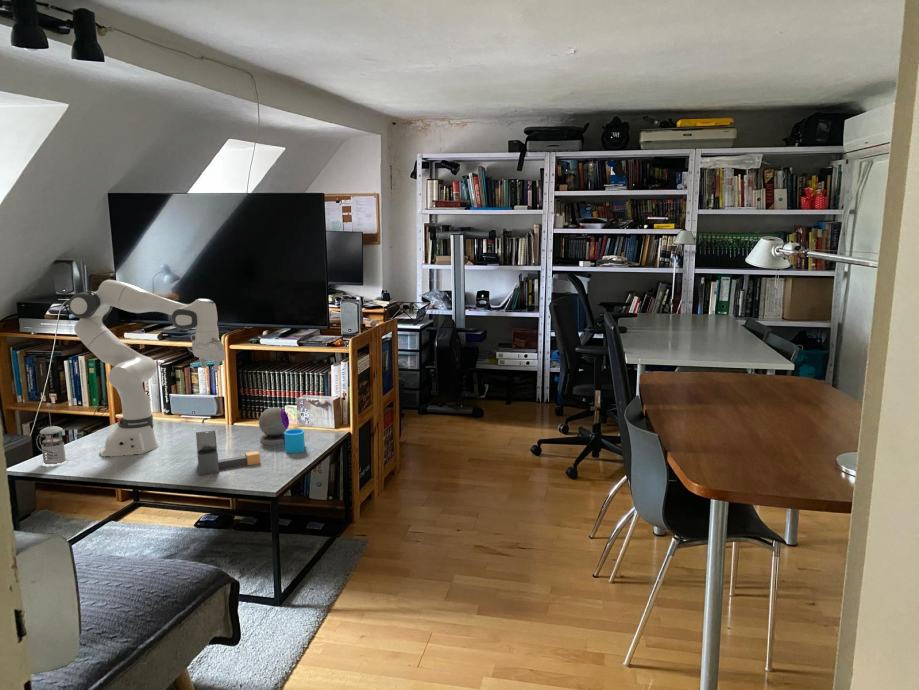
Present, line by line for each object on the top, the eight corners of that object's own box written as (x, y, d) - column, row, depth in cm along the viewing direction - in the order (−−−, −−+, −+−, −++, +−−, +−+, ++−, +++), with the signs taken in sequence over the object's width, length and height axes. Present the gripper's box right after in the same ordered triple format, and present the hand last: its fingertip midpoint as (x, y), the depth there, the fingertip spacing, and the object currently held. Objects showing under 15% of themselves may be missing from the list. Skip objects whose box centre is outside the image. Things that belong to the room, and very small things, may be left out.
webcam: (286, 444, 301) (284, 411, 298) (256, 445, 300) (254, 411, 297) (292, 435, 313) (290, 403, 311) (263, 436, 313) (261, 404, 310)
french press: (56, 468, 273) (49, 407, 268) (31, 466, 275) (23, 405, 270) (74, 459, 282) (68, 400, 278) (49, 458, 284) (43, 399, 280)
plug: (219, 470, 270) (218, 460, 269) (217, 466, 273) (216, 457, 273) (260, 463, 277) (259, 453, 277) (258, 460, 281) (257, 450, 280)
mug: (299, 454, 288) (298, 435, 287) (281, 452, 290) (280, 434, 289) (311, 445, 300) (311, 427, 298) (294, 443, 301) (293, 425, 300)
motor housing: (199, 475, 264) (196, 437, 261) (198, 463, 277) (195, 427, 274) (218, 472, 267) (216, 435, 264) (216, 461, 279) (213, 425, 277)
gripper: (228, 338, 286) (230, 371, 289) (202, 333, 299) (204, 365, 302) (214, 340, 281) (216, 373, 284) (188, 335, 294) (190, 367, 297)
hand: (210, 369), depth 293 cm, fingers open, 8 cm apart
